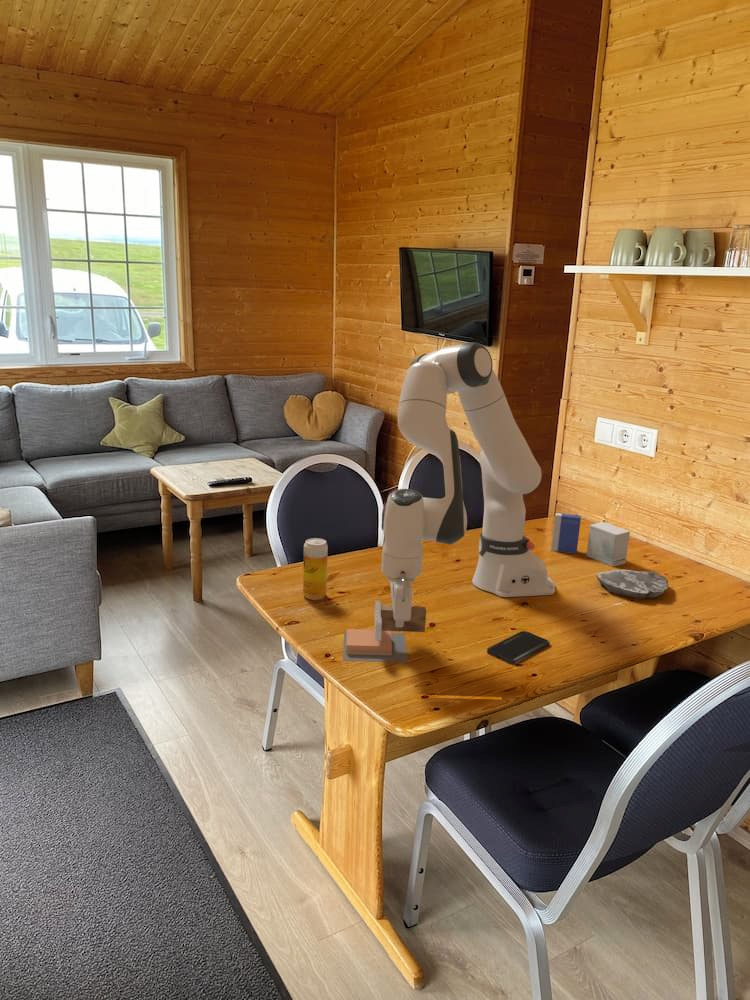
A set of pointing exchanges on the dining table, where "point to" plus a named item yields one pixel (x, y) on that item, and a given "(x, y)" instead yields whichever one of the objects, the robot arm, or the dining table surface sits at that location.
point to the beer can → (315, 568)
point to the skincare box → (608, 544)
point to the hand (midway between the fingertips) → (398, 622)
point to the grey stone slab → (633, 583)
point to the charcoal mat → (397, 655)
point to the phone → (518, 647)
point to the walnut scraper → (387, 622)
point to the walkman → (566, 533)
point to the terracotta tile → (368, 642)
